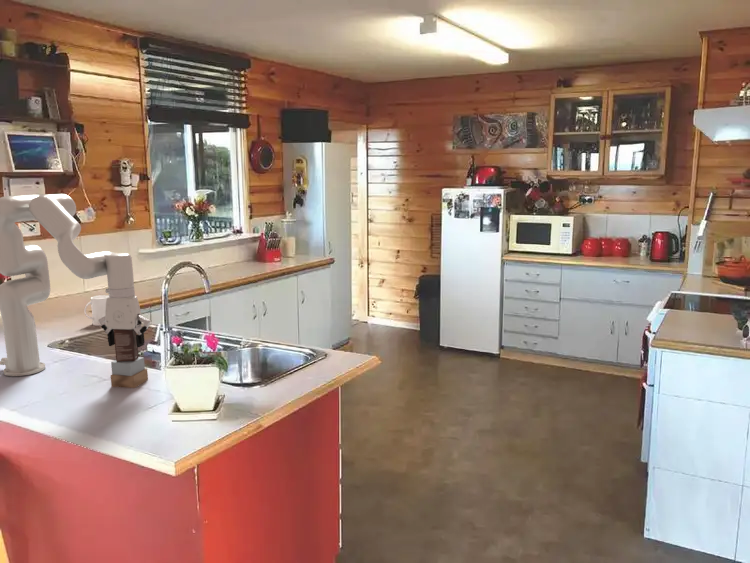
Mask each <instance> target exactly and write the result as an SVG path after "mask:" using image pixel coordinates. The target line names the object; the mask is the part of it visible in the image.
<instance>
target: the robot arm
mask: <svg viewBox="0 0 750 563" xmlns="http://www.w3.org/2000/svg"><path fill="white" fill-rule="evenodd" d="M76 212H77V205H76V202H75V200H74V199H73V198H72V197H71V196H69V195H67V194H65V193H48V194H47V193H42V194H41V193H40V194H39V193H36V194H34V193H32V194H18V195H7V196H6V195H4V196H2V197H0V274H1V276H3V277H4V276H5V277H14V276H21V275H24V276H25V277H19V278H15V279H10V280H7V281H4V282H3V283H1V284H0V317H1V321H2V322H1V323H2V329H3V335H4V344H5V350H6V351H5V354H6V357H2V358H1V359H0V366H5V368H4V369H3V375H5V376H6V377H24V376H29V375H34V374H37V373H39V372H42V371H44V370H45V369H46V364H45V363H44V362H42V361H40V360H41V359H40V352H39V345H38V344H39V343H38V334H37V327H36V321H35V320H36V319H35V317H34V315H33V313H32V312H31V311H30V309H29V307H28V306H31V305H35V304H38V303H43V302H44V301H46V300H47V299H48V298H49V297H50V294H51V280H50V270H49V265H48V264H49V263H48V257H47V255H46V253H45V251H44V250H43V249H42V247H40V246H39V245H36V244H25V243H24V235H23V233H22V230H21V229H20V227H19V226H18V225H17V222H18V223H20V222H30V221H37V222H38V223H39V225H41V226H42V227H43V228H44V229H45V230H46V231H47V232H48V233H49V234H50V235H51V236H52V237H53V238H54V240H56V241H57V245H56V246H57V252H58V256H59V258H60V260H61V262H62V263H63V265H64V266H65V267H66V268H68V270H69V271H70V272H71V273H72V274H73V275H75V276H76V277H78V278H80V279H84V280H90V279H95V278H98V277H103V276H106V277H107V288H105V293H106V294H108V295H109V297H108V298H107V300H106V310H105V316H104V317H102V318H101V319H99V320H98V321H99V323H100V325H101V328H102V330H103V331H104V332H105V334H106V335H107V342H108V346H109V347H112V346H115V340H114V330H113V329H119V330H132V329H134V330H135V332H136V333H137V335H136V342H137V347H138V348H141V347H143V346H144V345H145V343H146V342H145V333H146V332H147V330H148V329H149V328H150V325H151V322H152V321H151V320H150V319H149V318H147V317H145V316H143V315H142V312H141V307H140V302H139V299H138V296H137V295H136V293H135V292H136V290H135V285H134V284H135V280H134V271H133V270H134V268H133V259H132V258H133V257H132V256H131V254H130V253H127V252H113V251H109V250H103V251H102V250H101V251H97V252H92V253H86V254H84V253H83V251H81V249H79V248H78V247H77V245H76V244H75V243H74V241H75V240H76V239H77V238H78V236H79V235H80V233H81V231H82V226H81V224H80V223H79V221H77V220H76V219H75V218H74V216H75V214H76ZM105 321H106V322H105ZM142 324H143V326H142Z"/></svg>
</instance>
